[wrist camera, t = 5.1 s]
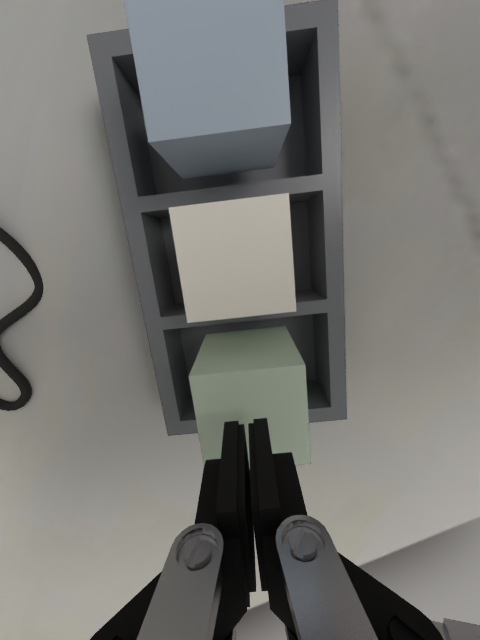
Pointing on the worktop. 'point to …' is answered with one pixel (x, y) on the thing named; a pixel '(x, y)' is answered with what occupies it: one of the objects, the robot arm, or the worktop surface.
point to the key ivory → (235, 257)
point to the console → (286, 177)
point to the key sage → (251, 390)
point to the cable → (19, 312)
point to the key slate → (212, 82)
